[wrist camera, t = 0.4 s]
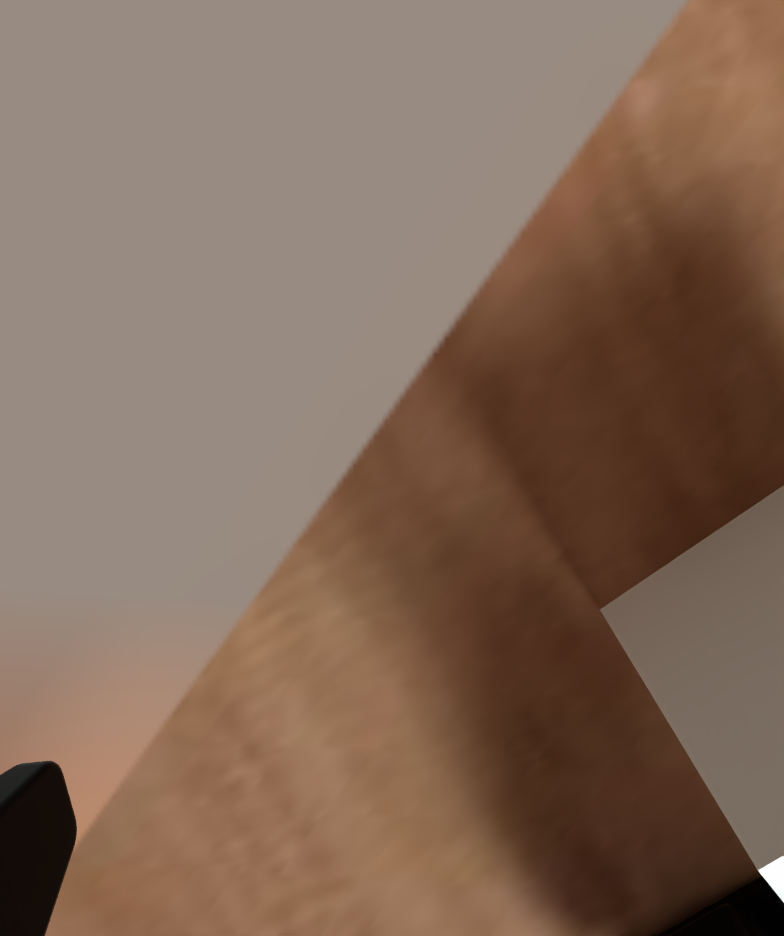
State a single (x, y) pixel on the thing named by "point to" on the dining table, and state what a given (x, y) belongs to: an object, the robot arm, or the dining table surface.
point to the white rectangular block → (722, 668)
